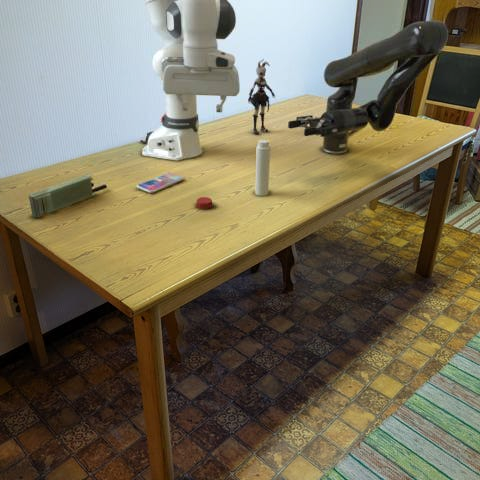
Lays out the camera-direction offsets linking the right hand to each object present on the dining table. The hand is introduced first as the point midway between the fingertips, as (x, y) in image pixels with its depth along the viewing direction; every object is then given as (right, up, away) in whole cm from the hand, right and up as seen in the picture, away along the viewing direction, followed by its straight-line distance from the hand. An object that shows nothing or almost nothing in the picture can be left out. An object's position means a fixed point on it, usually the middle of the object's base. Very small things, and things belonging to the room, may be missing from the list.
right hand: (296, 128), depth 155 cm
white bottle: (-11, -19, +4) cm, 22 cm away
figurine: (-9, +11, +59) cm, 61 cm away
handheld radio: (-67, -23, -4) cm, 71 cm away
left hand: (-28, +1, -18) cm, 33 cm away
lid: (-28, -23, -5) cm, 36 cm away
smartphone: (-43, -16, +9) cm, 47 cm away
